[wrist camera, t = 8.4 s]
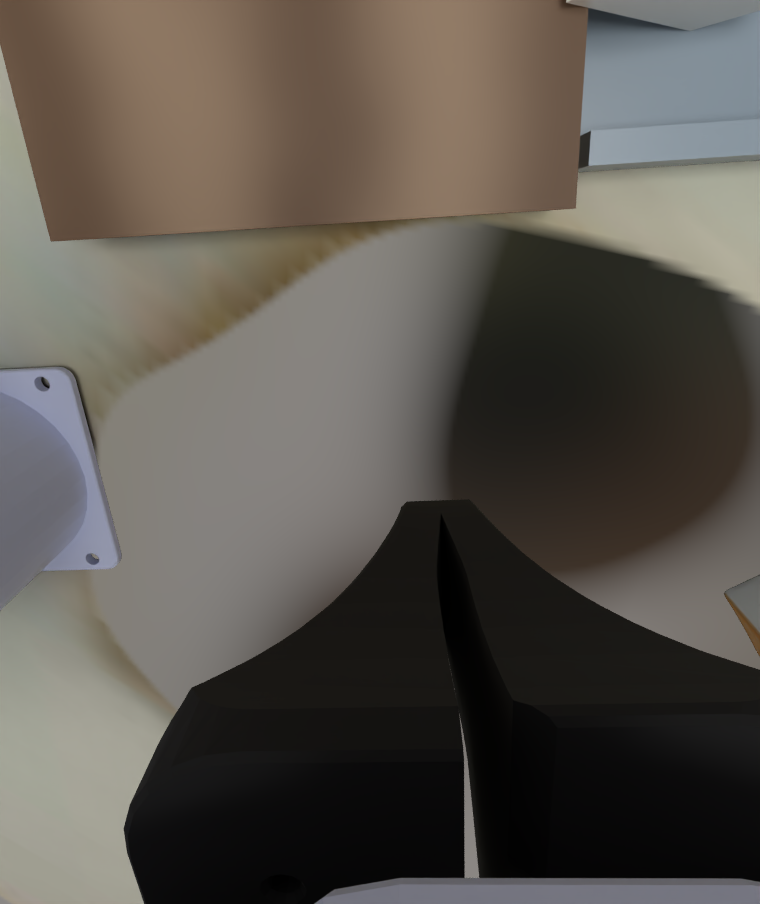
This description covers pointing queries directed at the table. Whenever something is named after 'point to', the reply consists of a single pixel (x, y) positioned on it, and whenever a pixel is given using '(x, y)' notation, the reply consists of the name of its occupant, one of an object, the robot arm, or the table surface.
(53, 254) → the table surface
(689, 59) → the tray
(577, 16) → the walnut plate
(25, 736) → the table surface
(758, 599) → the small box
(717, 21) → the block
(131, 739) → the table surface
